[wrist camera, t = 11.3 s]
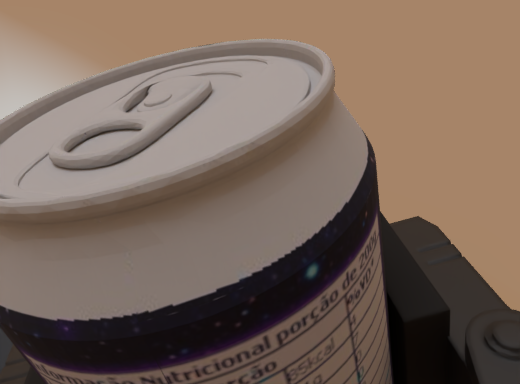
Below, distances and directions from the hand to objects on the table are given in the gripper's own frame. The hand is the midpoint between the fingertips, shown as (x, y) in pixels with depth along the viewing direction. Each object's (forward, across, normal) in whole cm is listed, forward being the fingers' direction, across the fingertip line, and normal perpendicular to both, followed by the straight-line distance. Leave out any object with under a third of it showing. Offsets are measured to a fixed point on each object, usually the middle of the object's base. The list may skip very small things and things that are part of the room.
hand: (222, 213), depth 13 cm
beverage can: (-5, 0, -7) cm, 9 cm away
